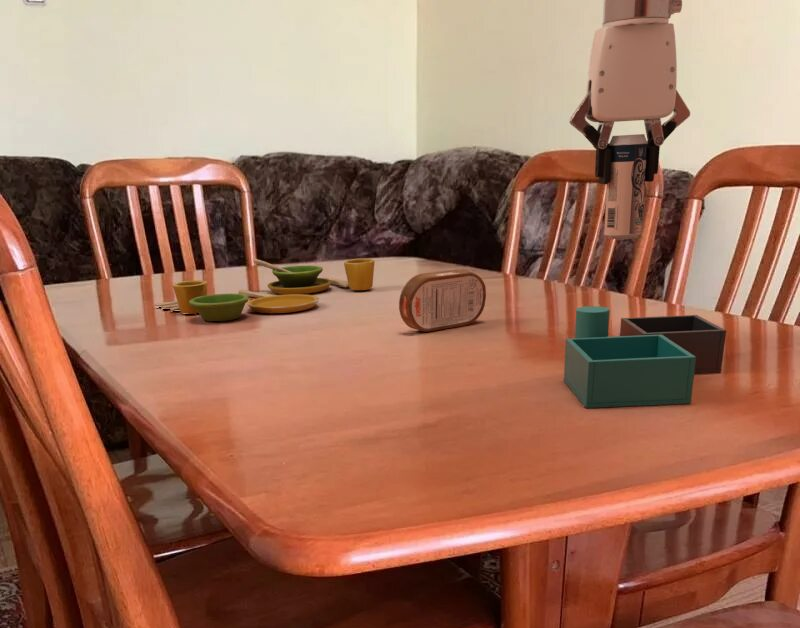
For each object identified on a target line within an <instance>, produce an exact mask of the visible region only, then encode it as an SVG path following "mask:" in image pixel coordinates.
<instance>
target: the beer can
mask: <svg viewBox="0 0 800 628" xmlns="http://www.w3.org/2000/svg"><path fill="white" fill-rule="evenodd" d="M645 134H646V133H641V134H640V133H639V134H638V133H637V134H623V135H612V136H611V138H610V140H609V142H608V143H609V149H610V150H612V155H611V174H610V183H608V184H606V188H605V190H606V191H605V209H604V210H605V211H604V229H603V235H604V236H605V237H606V238H607V239H609V240H629V239H630V240H631V239H636V238H637V237H639V236H640V235H642V229H643V213H644V200H645V186H646V185H645V183H646V181H645V171H646V156H647V143H648V142H647V141H648V140H647V137H646V135H645Z"/></svg>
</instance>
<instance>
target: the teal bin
mask: <svg viewBox="0 0 800 628" xmlns="http://www.w3.org/2000/svg"><path fill="white" fill-rule="evenodd" d="M564 347H565V348H564V368H563V369H564V370H563V382H564V383H565V384H566V385H567V387H568V388H569V389H570V390H571V391H572V393H573V395H575V396H576V398H577V399H578V400H579V402H580V403H581V404H582V405H583V407H584V408H585V409H600V408H621V407H623V408H624V407H641V406H642V407H645V406H646V407H647V406H664V405H665V406H667V405H669V406H670V405H688V404H691V403H692V395H693V387H694V378H695V374H694V371H695V362H696V357H695V356H694V355H692V354H691V353H689V352H688V351H686V350H685V349H683V348H682V347H680V346H679V345H677V344H676V343H674V342H673V341H671V340H669V339H668V338H666V337H665V336H663V335H662V334H660V335H637V336H620V335H618V336H617V335H616V336H608V337H592V338H575V337H573V338H572V337H571V338H565V345H564Z"/></svg>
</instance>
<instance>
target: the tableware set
mask: <svg viewBox="0 0 800 628" xmlns="http://www.w3.org/2000/svg"><path fill="white" fill-rule="evenodd" d="M375 262H376V261H375V259H373V258H353V259H347V260H345V261H343V266H344V270H345V275H346V279H347V280H340V279H336V278H332V277H327V276H319V275H321V273H322V272H323V270H324V269H323V267H322V266H319V265H291V266H282V267H280V266H278V265H275V264H272V263H270V262H267V261H264V260H261V259H258V258H254V259H253V263H254V264H256V265H258V266H260V267H261V266H262V267H264V268H268V269H270V270H271V273H272V274H273V276H274V277H276V278H277V280H275V281H271V282H269V283H267V288H268V289H269V290H270V291H271V292H272V293H274V294H271V293H266V292H260V291H255V292H254V291H252V290H248V289H239V290H237V293H233V292H232V293H217V294H216V293H214V294H208V281H207V280H199V279H198V280H184V281H177V282H175V283H173V284H172V288H173V292H174V295H175V298H176V300H173V301H163V302H157V303H155V304H154V307H155V306H161V308H160V309H162V308H170V310H172V311H174V310H180V313H181V314H182V313H188V314H194V315H199V316H200V317H201V319H202V320H203V321H205V320H206V321H205V322H212V321H220V322H227V321H228V320H229V321H234V320H237V319H239V318H240V317H241V316H242V312H243V311H244V308H245V305H246V306H247V307H249V308H250V309H251V310H252V311H253V312H257V313H262V314H285V313H296V312H302V311H307V310H309V309H312V308H315V306H316V305H317V303H318V302H319V300H320V298H319V297H318V296H316V295H313V294H314V293H319V292H324V291H326V290H328V288H329V287H330V285H337V287H341V288H349V289H350V290H352V291H366V290H370V289H372V288H373V285H374V272H375ZM275 294H276V295H275ZM250 297H251V298H254V299H251V300H249V299H250ZM172 304H174V305H172ZM165 305H166V306H165ZM173 307H174V308H173ZM170 310H169V311H170ZM197 313H199V314H197Z"/></svg>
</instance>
